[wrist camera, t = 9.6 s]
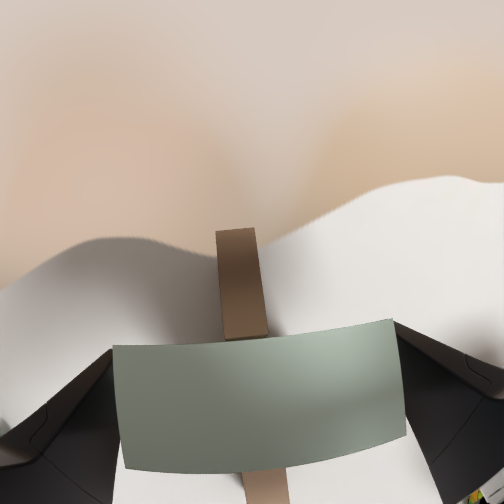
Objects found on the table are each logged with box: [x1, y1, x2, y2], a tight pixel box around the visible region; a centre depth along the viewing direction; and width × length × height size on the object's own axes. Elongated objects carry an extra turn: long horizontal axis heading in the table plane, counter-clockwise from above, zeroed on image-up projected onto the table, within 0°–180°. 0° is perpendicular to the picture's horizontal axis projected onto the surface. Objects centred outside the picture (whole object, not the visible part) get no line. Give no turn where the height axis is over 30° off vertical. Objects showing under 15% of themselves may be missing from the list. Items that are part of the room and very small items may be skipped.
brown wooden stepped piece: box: [216, 228, 290, 504], centre depth 15 cm, size 17×2×5 cm, turn 7°
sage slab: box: [113, 318, 406, 474], centre depth 11 cm, size 3×6×13 cm, turn 96°
